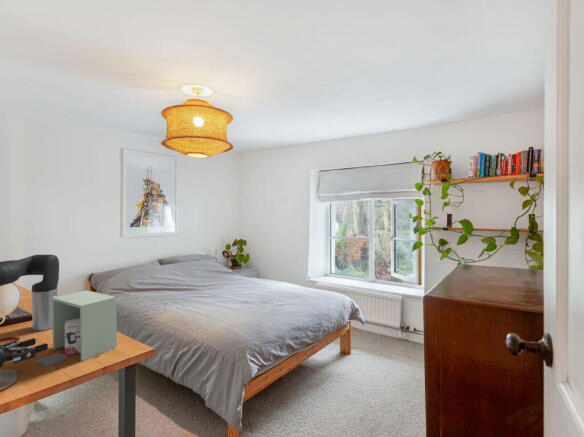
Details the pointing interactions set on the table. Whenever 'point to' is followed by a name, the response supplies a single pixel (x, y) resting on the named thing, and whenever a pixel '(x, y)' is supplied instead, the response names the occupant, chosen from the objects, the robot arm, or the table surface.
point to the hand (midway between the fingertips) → (41, 343)
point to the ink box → (72, 336)
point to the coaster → (51, 359)
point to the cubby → (86, 321)
